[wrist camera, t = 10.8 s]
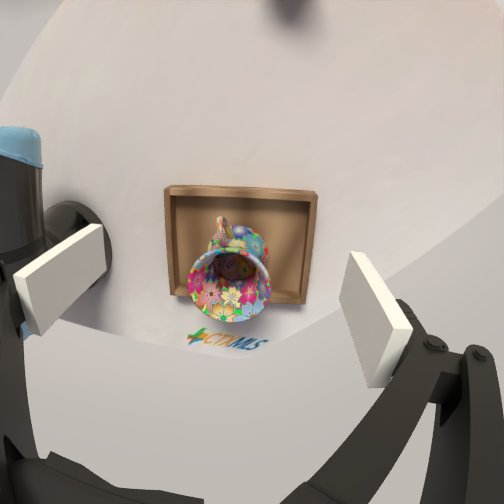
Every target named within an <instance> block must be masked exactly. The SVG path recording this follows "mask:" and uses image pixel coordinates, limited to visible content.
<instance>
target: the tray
mask: <svg viewBox="0 0 504 504" xmlns="http://www.w3.org/2000/svg"><path fill="white" fill-rule="evenodd" d="M317 200H318V195H317V194H316V193H315V191H304V190H290V189H274V188H256V187H234V186H201V185H170V186H169V187H167V188H165V189H164V207H165V229H166V246H167V260H168V273H169V285H170V295H174V296H185V297H191V295H190V292H189V288H188V277H189V273H190V270H191V268H192V266H193V265H194V263H195V262H196V261H197V260H198V259H199V258H200V257H201V256H202V255H204V254H205V253H207V250H208V245H209V242H210V240H211V239H212V237H213V236H214V235H215V234H216V233H217V232H216V219H217V217H220V216H223V217H225V218H226V220H227V222H228V224H229V226H233V225H241V226H246V227H249V228H251V229H253V230H255V231H256V232H257V233H258V234H260V235H261V237H262V238H263V239H264V241H265V243H266V245H267V248H268V254H269V257H268V262H267V265H266V267H265V268H266V270H267V272H268V274H269V276H270V280H271V295H270V298H269V301H268V303H284V304H305V302H306V295H307V288H308V280H309V272H310V264H311V256H312V248H313V239H314V230H315V220H316V210H317ZM222 226H223V225H222ZM223 228H224V227H223Z"/></svg>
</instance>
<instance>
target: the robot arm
mask: <svg viewBox="0 0 504 504" xmlns="http://www.w3.org/2000/svg"><path fill="white" fill-rule="evenodd" d="M42 169H43V164H42V158H41V138H40V136H39V134H38V133H37V132H36V131H35V130H33V129H31V128H24V127H8V126H0V504H204V499H201V498H195V497H189V496H184V495H179V494H174V493H170V492H166V491H162V490H142V489H128V488H118V487H115V486H113V485H111V484H110V483H108V482H106V481H105V480H103V479H102V478H100V477H99V476H97V475H96V474H94V473H93V472H91V471H90V470H89V469H87V468H86V467H84V466H83V465H81V464H79V463H76V462H74V461H71V460H69V459H67V458H65V457H62V456H60V455H58V454H56V453H54V452H52V451H50V453H49V455H48V457H47V459H40V458H39V456H38V453H37V450H36V445H35V440H34V436H33V430H32V424H31V419H30V412H29V405H28V397H27V389H26V378H25V366H24V346H23V341H24V340H25V339H26V338H27V337H28V336H30V335H32V334H36V335H39V336H42V335H43V334H44V333H45V332H46V331H47V329H48V328H50V326H51V325H52V324H53V323H54V322H55V321H56V320H57V319H58V318H59V317H60V316H61V315H62V314H63V313H64V312H65V311H66V310H67V309H68V308H69V307H70V306H71V305H72V304H73V303H74V302H75V301H76V300H77V299H78V298H79V297H80V296H81V295H82V294H83V293H84V292H85V291H86V290H88V289H90V288H92V287H94V286H95V285H96V284H97V283H98V282H99V281H100V280H101V279H102V278H103V277H104V276H105V275H106V273H107V272H108V269H109V267H110V263H111V244H110V240H109V237H108V234H107V231H106V229H105V227H104V225H103V224H102V222H101V221H100V219H99V218H98V217H97V215H96V214H95V213H94V212H93V211H92V210H90V209H89V208H88V207H86V206H85V205H83V204H80V203H78V202H73V201H65V202H61V203H59V204H56V205H54V206H52V207H50V208H49V209H48V210H46V211H45V212H44V213H43V199H42ZM339 300H340V303H341V306H342V309H343V311H344V314H345V317H346V320H347V323H348V326H349V329H350V332H351V335H352V338H353V341H354V344H355V347H356V350H357V353H358V356H359V360H360V363H361V366H362V369H363V373H364V376H365V379H366V382H367V386H368V388H385V389H384V391H383V392H382V394H381V395H380V396H379V398H378V399H377V401H376V402H375V403H374V405H373V406H372V407H371V409H370V410H369V411H368V413H367V414H366V415H365V416H364V418H363V419H362V420H361V422H360V423H359V424H358V425H357V427H356V428H355V429H354V430H353V432H352V433H351V434H350V435H349V436H348V438H347V439H346V440H345V441H344V442H343V444H342V445H341V446H340V447H339V448H338V449H337V451H336V452H335V453H334V454H333V455H332V456H331V457H330V458H329V459H328V461H327V462H326V463H325V464H324V465H323V466H322V467H321V468H320V469H319V470H318V471H317V472H316V474H314V476H312V477H311V478H310V479H309V480H308V481H307V482H303V483H302V484H301V485H299V486H298V487H297V488H296V489H295V490H294V491H293V492H292V493H291V494H290V495H288V496H287V497H286V498H285V499H284V500H283V501H282V502H281V503H280V504H368V503H369V502H370V500H371V499H372V497H373V496H374V495H375V493H376V492H377V490H378V489H379V487H380V486H381V484H382V483H383V481H384V480H385V478H386V477H387V475H388V474H389V472H390V471H391V469H392V468H393V466H394V464H395V463H396V461H397V459H398V458H399V456H400V454H401V453H402V451H403V449H404V447H405V446H406V444H407V442H408V440H409V438H410V437H411V435H412V432H413V431H414V429H415V427H416V425H417V423H418V421H419V419H420V417H421V415H422V413H423V411H424V409H425V407H426V405H427V403H428V402H430V403H435V404H436V413H435V422H434V431H433V438H432V445H431V451H430V457H429V463H428V468H427V473H426V478H425V483H424V488H423V492H422V496H421V500H420V504H504V418H503V409H502V401H501V394H500V388H499V382H498V377H497V371H496V366H495V362H494V358H493V356H492V354H491V353H490V352H489V350H487V349H485V347H483V346H479V345H474V344H473V345H469V346H468V347H467V348H466V350H465V352H464V354H458V353H453V352H449V351H448V349H449V348H448V346H447V344H446V343H445V342H444V341H443V340H441V339H440V338H438V337H436V336H433V335H428V334H427V333H426V331H425V329H424V328H423V326H422V325H421V323H420V322H419V320H417V317H416V316H415V314H413V311H412V310H411V308H410V307H409V305H407V304H406V303H405V302H403V301H402V300H401V299H394V297H393V295H392V294H391V292H390V291H389V289H388V288H387V286H386V285H385V283H384V282H383V280H382V279H381V277H380V276H379V274H378V273H377V271H376V270H375V268H374V267H373V265H372V264H371V262H370V261H369V259H368V258H367V256H366V255H365V254H364V253H360V252H352V251H350V254H349V259H348V263H347V268H346V272H345V276H344V280H343V285H342V289H341V293H340V297H339ZM391 377H393V378H392V379H391ZM390 379H391V381H390ZM389 381H390V382H389ZM388 383H389V384H388Z"/></svg>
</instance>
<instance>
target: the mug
mask: <svg viewBox="0 0 504 504" xmlns="http://www.w3.org/2000/svg"><path fill="white" fill-rule="evenodd" d="M222 225H223V226H222ZM223 227H224V228H223ZM216 232H217V233H216V234H215V235H214V236H213V237H212V239H211V240H210V242H209V245H208V250H207V253H205V254H204V255H202V256H201V257H200V258H199V259H198V260H197V261H196V262H195V263H194V265H193V266H192V268H191V270H190V273H189V277H188V288H189V292H190V295H191V298H192V300H193V301H194V303H195V304H196V306H197V307H198V308H199V309H200V310H201V311H202V312H204V313H205V314H206V315H208V316H210V317H212V318H214V319H216V320H219V321H224V322H241V321H245V320H248V319H251V318H253V317H254V316H256V315H257V314H259V313H260V312H261V311H262V310H263V309H264V308H265V306H266V305H267V303H268V301H269V298H270V295H271V280H270V276H269V274H268V272H267V270H266V268H265V267H266V265H267V262H268V257H269V254H268V248H267V245H266V243H265V241H264V239H263V238H262V237H261V235H260V234H258V233H257V232H256V231H255V230H253V229H251V228H249V227H246V226H241V225H233V226H229V224H228V222H227V220H226V218H225V217H223V216H220V217H217V219H216Z"/></svg>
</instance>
